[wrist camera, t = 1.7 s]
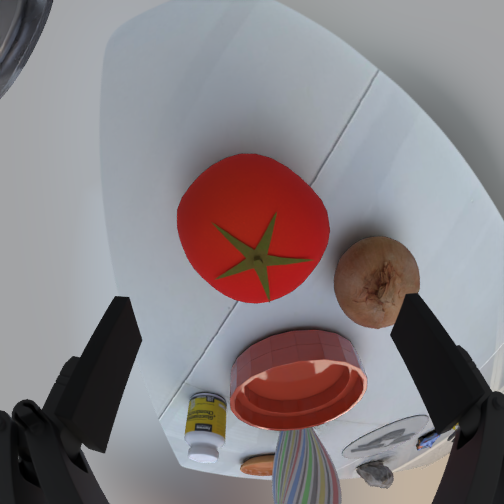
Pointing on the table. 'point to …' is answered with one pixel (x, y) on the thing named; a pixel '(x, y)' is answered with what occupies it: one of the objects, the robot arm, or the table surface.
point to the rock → (376, 474)
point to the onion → (375, 281)
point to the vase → (303, 470)
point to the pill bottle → (205, 427)
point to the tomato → (252, 228)
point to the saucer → (259, 465)
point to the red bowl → (296, 380)
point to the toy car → (427, 441)
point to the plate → (386, 437)
